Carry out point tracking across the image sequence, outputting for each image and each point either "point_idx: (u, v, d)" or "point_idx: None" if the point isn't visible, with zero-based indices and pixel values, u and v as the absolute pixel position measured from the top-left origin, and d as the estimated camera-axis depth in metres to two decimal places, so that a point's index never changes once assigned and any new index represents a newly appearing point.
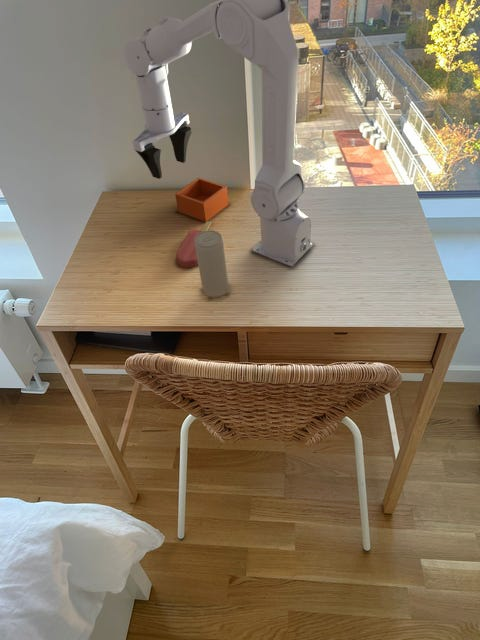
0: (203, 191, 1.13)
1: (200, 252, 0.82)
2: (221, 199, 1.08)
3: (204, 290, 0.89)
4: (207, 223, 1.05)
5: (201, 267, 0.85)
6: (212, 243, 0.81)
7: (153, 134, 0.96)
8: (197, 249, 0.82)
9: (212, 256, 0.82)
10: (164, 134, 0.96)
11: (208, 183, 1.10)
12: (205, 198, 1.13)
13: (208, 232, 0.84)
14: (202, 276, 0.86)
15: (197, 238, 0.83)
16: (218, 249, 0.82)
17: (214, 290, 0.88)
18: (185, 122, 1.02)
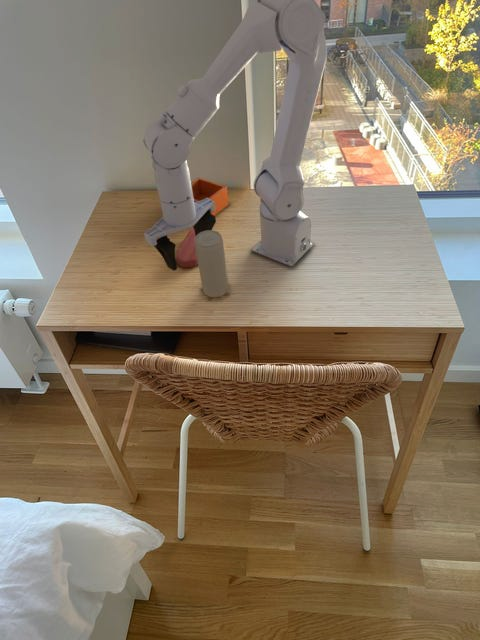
0: (203, 191, 1.13)
1: (200, 252, 0.82)
2: (221, 199, 1.08)
3: (204, 290, 0.89)
4: None
5: (201, 267, 0.85)
6: (212, 243, 0.81)
7: (169, 226, 0.84)
8: (197, 249, 0.82)
9: (212, 256, 0.82)
10: (181, 228, 0.83)
11: (208, 183, 1.10)
12: (205, 198, 1.13)
13: (208, 232, 0.84)
14: (202, 276, 0.86)
15: (197, 238, 0.83)
16: (218, 249, 0.82)
17: (214, 290, 0.88)
18: (210, 209, 0.89)
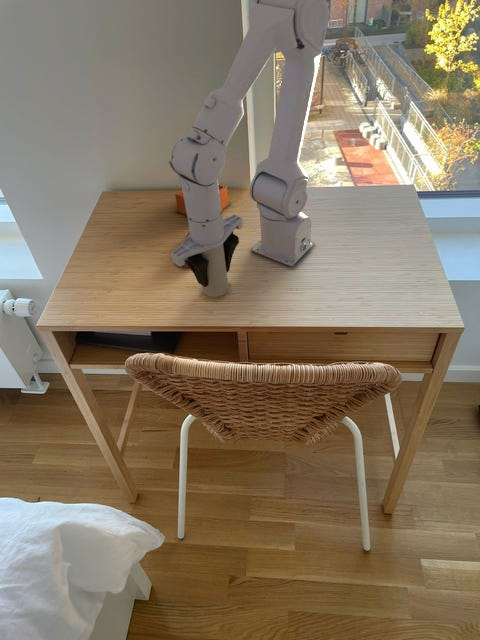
0: None
1: (200, 253, 0.82)
2: (221, 199, 1.08)
3: (204, 290, 0.89)
4: None
5: None
6: None
7: (197, 245, 0.80)
8: None
9: (212, 256, 0.82)
10: (209, 247, 0.80)
11: None
12: None
13: None
14: None
15: None
16: (218, 249, 0.82)
17: (214, 290, 0.88)
18: (237, 226, 0.85)
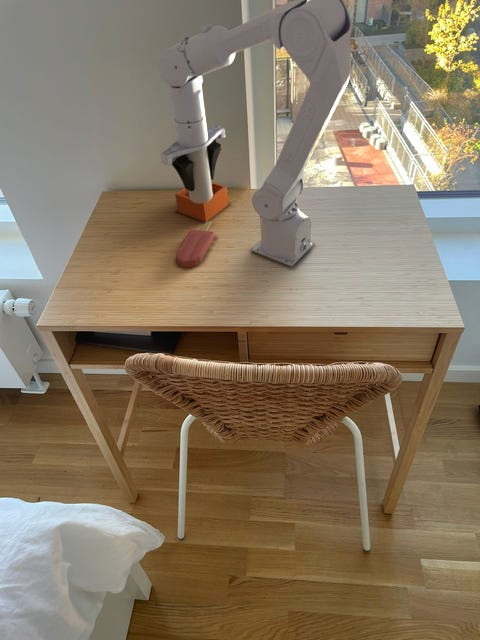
0: None
1: None
2: (221, 199, 1.08)
3: (190, 196, 0.99)
4: (207, 223, 1.05)
5: None
6: None
7: (183, 147, 0.90)
8: None
9: (197, 159, 0.92)
10: (194, 148, 0.90)
11: None
12: None
13: None
14: None
15: None
16: (202, 152, 0.92)
17: (200, 195, 0.97)
18: (220, 136, 0.95)
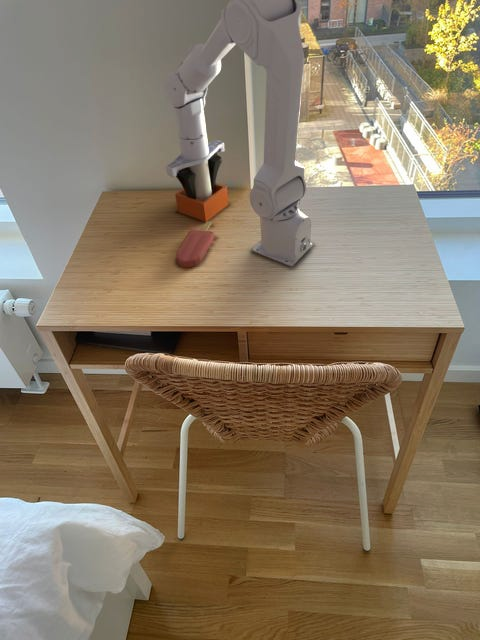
0: None
1: (189, 168, 1.02)
2: (221, 199, 1.08)
3: None
4: (207, 223, 1.05)
5: None
6: None
7: (186, 161, 1.00)
8: None
9: (199, 171, 1.02)
10: (196, 162, 1.00)
11: None
12: None
13: None
14: None
15: None
16: (203, 164, 1.02)
17: None
18: (220, 149, 1.05)
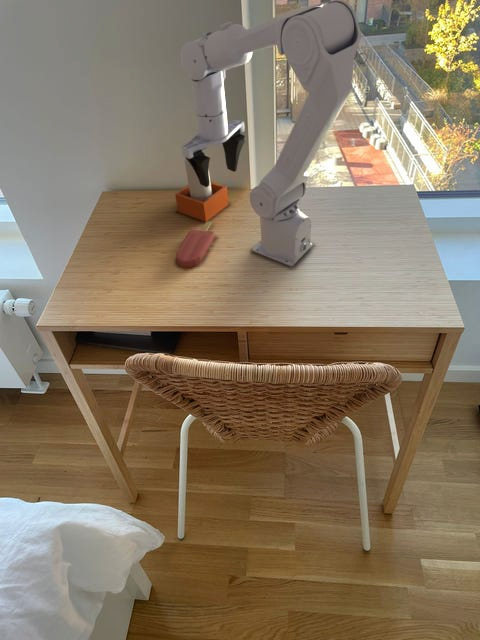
0: None
1: (189, 168, 1.02)
2: (221, 199, 1.08)
3: None
4: (207, 223, 1.05)
5: (190, 181, 1.04)
6: None
7: (204, 141, 0.92)
8: (186, 165, 1.02)
9: None
10: (215, 142, 0.91)
11: None
12: None
13: None
14: (191, 191, 1.06)
15: None
16: None
17: None
18: (240, 130, 0.96)
